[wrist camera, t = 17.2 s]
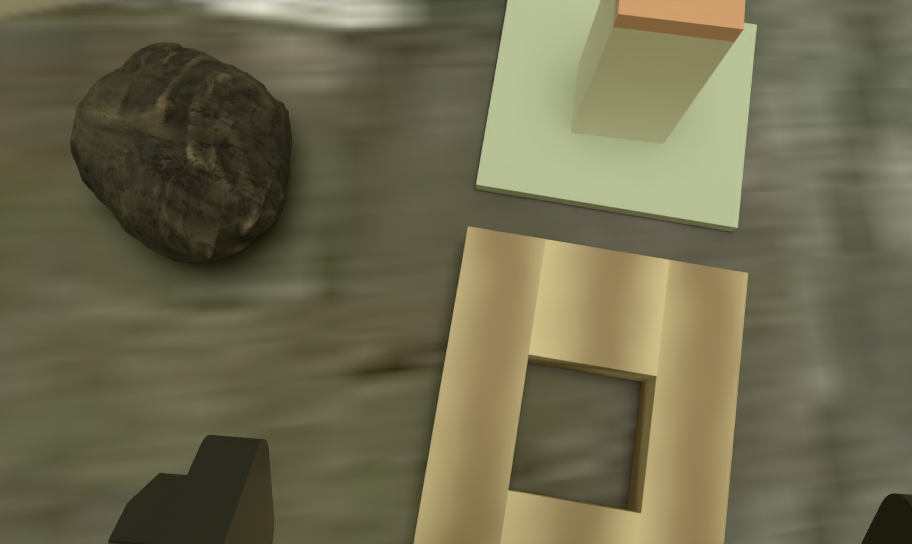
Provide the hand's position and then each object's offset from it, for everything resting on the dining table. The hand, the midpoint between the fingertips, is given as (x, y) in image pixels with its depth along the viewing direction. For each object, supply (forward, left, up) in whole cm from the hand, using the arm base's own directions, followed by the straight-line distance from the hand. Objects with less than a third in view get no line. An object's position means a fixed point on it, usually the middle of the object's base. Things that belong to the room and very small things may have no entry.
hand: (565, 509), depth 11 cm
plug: (+5, +21, -30) cm, 37 cm away
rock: (-17, +13, -31) cm, 37 cm away
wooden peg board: (+5, +3, -31) cm, 31 cm away
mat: (+5, +21, -31) cm, 37 cm away
